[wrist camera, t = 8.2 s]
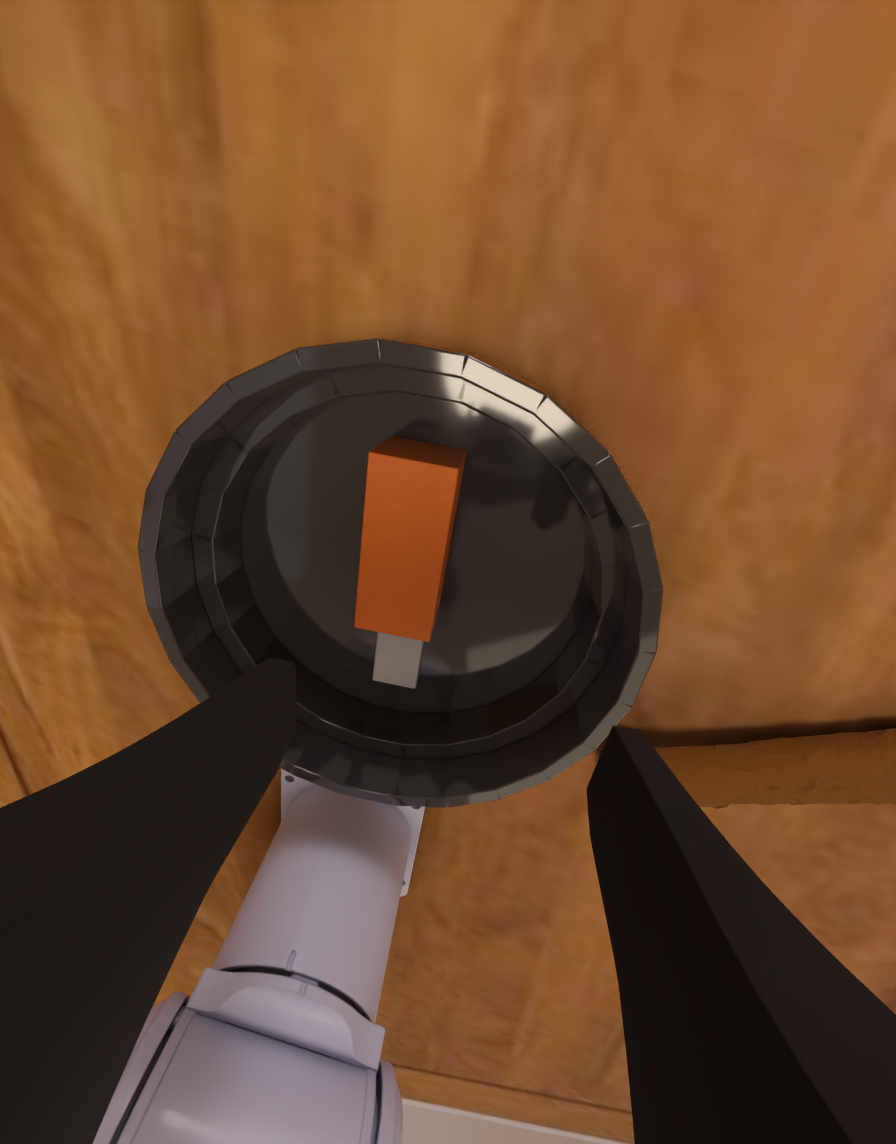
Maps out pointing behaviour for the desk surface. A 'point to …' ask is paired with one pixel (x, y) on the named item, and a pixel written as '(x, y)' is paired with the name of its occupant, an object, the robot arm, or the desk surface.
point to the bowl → (471, 584)
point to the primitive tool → (789, 770)
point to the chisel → (405, 549)
